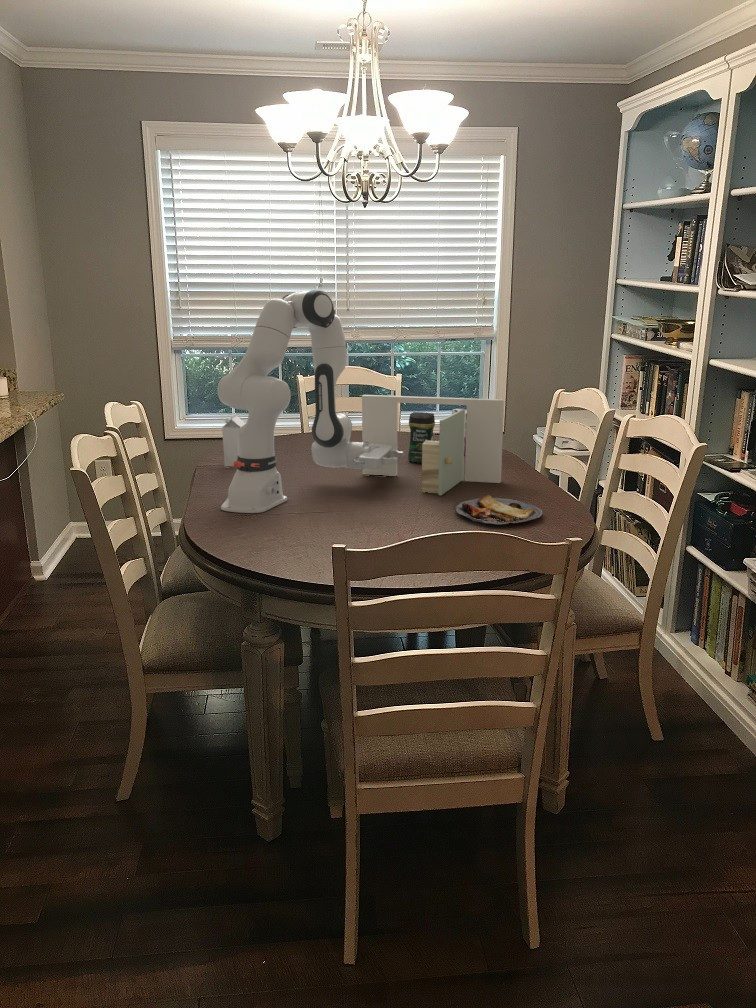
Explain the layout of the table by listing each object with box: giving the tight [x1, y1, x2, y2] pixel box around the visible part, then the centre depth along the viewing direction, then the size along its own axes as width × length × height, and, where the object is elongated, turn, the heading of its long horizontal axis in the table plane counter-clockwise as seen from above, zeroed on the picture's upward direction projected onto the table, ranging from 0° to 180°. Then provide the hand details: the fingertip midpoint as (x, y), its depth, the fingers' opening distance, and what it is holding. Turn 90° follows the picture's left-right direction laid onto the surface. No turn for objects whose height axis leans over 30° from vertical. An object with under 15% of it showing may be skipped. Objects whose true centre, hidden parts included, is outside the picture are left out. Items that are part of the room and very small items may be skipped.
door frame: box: [361, 394, 505, 484], centre depth 274 cm, size 2×48×28 cm, turn 76°
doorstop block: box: [421, 440, 439, 494], centre depth 261 cm, size 6×6×16 cm
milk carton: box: [221, 412, 247, 467], centre depth 295 cm, size 7×7×19 cm
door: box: [437, 408, 466, 496], centre depth 262 cm, size 3×22×24 cm, turn 156°
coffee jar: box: [407, 411, 436, 464], centre depth 300 cm, size 10×8×19 cm
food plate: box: [454, 494, 543, 526], centre depth 236 cm, size 25×23×4 cm
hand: (400, 457), depth 263 cm, fingers open, 8 cm apart
